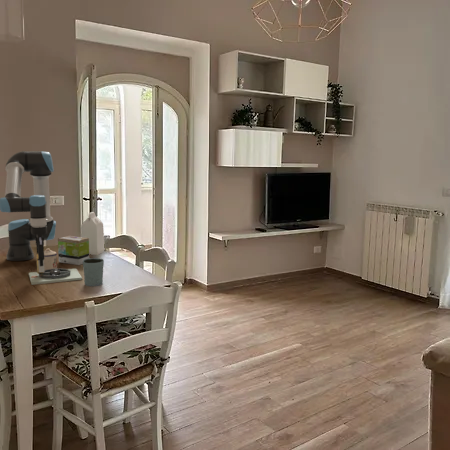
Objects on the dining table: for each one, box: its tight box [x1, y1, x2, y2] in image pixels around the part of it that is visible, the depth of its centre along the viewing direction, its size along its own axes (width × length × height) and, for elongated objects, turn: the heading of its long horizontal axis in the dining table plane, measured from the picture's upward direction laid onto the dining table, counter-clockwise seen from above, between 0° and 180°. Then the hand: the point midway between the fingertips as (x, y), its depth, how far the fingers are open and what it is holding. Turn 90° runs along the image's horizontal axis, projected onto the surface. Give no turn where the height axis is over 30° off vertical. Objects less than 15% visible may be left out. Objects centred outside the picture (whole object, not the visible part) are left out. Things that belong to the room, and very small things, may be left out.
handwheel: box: [36, 252, 71, 279], centre depth 243 cm, size 16×15×11 cm
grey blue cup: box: [82, 257, 105, 287], centre depth 232 cm, size 10×10×12 cm
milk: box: [80, 211, 106, 256], centre depth 301 cm, size 12×12×26 cm
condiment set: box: [44, 248, 58, 270], centre depth 260 cm, size 12×9×12 cm
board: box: [28, 268, 83, 285], centre depth 244 cm, size 20×24×1 cm
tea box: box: [57, 235, 90, 266], centre depth 275 cm, size 15×10×15 cm, turn 68°
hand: (41, 270), depth 241 cm, fingers open, 5 cm apart
